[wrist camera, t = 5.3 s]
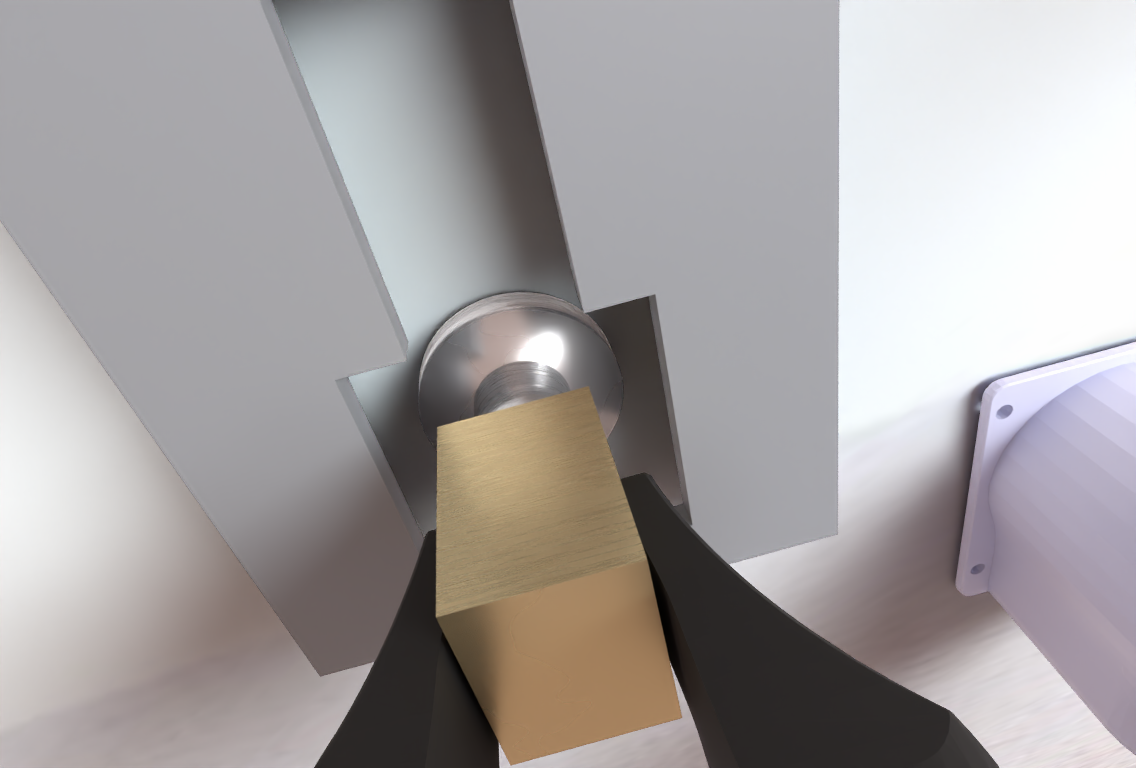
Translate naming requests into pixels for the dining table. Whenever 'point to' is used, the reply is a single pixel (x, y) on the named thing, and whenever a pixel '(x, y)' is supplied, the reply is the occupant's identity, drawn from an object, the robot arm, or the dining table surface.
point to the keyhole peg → (540, 529)
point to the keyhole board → (358, 292)
